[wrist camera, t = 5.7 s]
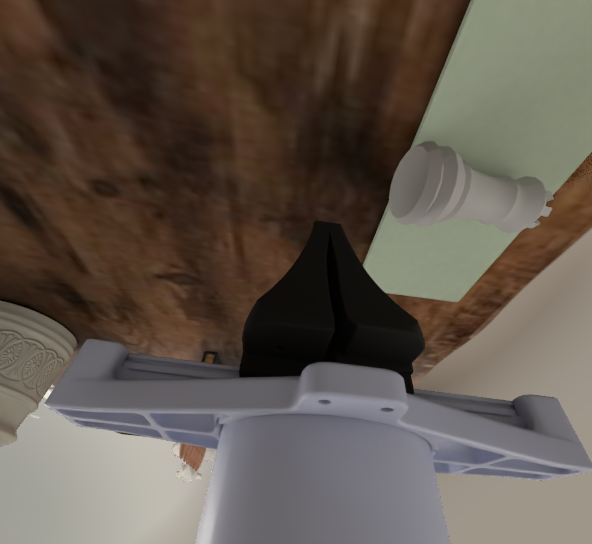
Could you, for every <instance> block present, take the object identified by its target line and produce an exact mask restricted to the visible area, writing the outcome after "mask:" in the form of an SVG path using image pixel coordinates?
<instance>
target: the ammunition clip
mask: <svg viewBox="0 0 592 544" xmlns="http://www.w3.org/2000/svg"><path fill="white" fill-rule="evenodd" d="M201 362H205V363H213V364H221V362H220V358H219V354H218V353H210V352H204V355H203V358H202V361H201ZM205 452H206V448H205V447H199V446H194V445H189V444H183V443H180V451H179V455H180V459H181V458H182V457H183V461H184V462H185V461H186V464H189V466H190V467H191V466H192V469H194V468H195V472H196V471H197V470H198V469H199V467H200V465H201V463H202V460H203V458H204V455H205Z"/></svg>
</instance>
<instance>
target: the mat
mask: <svg viewBox="0 0 592 544" xmlns="http://www.w3.org/2000/svg"><path fill="white" fill-rule="evenodd" d="M425 141H434V142H435V143H436V144H437V145H438V146H449V147H451V148H452V149H454V150H455V151H456V152H457V153H458V154H459V155H460V156H461V158H462V159H464V160H465V161H466V162H467V163H468V164H469V166H470V167H471V168H472V169H474V170H477V171H479V172H482V173H484V174H487V175H489V176H492V177H499V176H501V175H504V176H510V177H511V178H512V179H514V180H516V179H519V178H522V177H525V176H529V177H536V178H537V179H539V180H540V181H541V182H542V183H543V185H544V187H545V190H546V191H551V192H552V195H554V193H555V192H556V191H557V190H558V189H559V188H560V187H561V186H562V184H563V183H564V182H565V181H566V180H567V179H568V178H569V177H570V175H571V174H572V173H573V172H574V171H575V170H576V169H577V168H578V166H579V165H580V164H581V163H582V162H583V161H584V160H585V159H586V157H587V156H588V155H589V154H590V153H591V152H592V0H471V1H470V3H469V6H468V8H467V11H466V13H465V16H464V18H463V21H462V23H461V25H460V28H459V30H458V33H457V35H456V38H455V40H454V43H453V45H452V48H451V50H450V52H449V55H448V57H447V60H446V62H445V65H444V67H443V70H442V72H441V75H440V77H439V79H438V82H437V84H436V87H435V89H434V92H433V94H432V97H431V99H430V102H429V104H428V106H427V109H426V111H425V114H424V116H423V119H422V121H421V124H420V126H419V129H418V131H417V133H416V136H415V138H414V141H413V143H412V146H411V148H410V150H411V149H412V148H413V147H415V146H417V145H419V144H421V143H423V142H425ZM546 202H547V201H546ZM521 231H522V230H521ZM521 231H519V232H514V233H506V232H503V231H500V230H499V229H498V227H497V226H496V225H495V224H493V225H485V224H482V223H480V222H479V220H476V219H457V218H452V219H449V220H447V221H443V222H437V223H436V224H433V225H429V226H423V227H419V226H417V225H415V224H409V225H406V226H405V225H403V224H401V223H399V222H398V221H397V220H396V218H395V217H394V216H393V214H392V212H391V210H390V205H389V202H388V205H387V207H386V209H385V212H384V214H383V217H382V219H381V222H380V224H379V227H378V229H377V232H376V234H375V236H374V239H373V241H372V244H371V246H370V249H369V251H368V254H367V256H366V259H365V261H364V263H363V267H364V268H365V270H366V271H367V273H368V274H369V275H370V277H371V278H372V279H373V280H374V282H375V283H376V284H377V285H378V286H379V287H380V288H381V289H382V290H383V291H384V292H385V293H392V294H399V295H407V296H414V297H422V298H430V299H437V300H445V301H452V302H459V300H460V299H461V298H462V297H463V296H464V295H465V294H466V293H467V291H468V290H469V289H470V288H471V287H472V286H473V285H474V284H475V282H476V281H477V280H478V279H479V278H480V277H481V276H482V275H483V273H484V272H485V271H486V270H487V269H488V268H489V267H490V266H491V264H492V263H493V262H494V261H495V260H496V259H497V258H498V257H499V255H500V254H501V253H502V252H503V251H504V250H505V249H506V248H507V246H508V245H509V244H510V243H511V242H512V241H513V240H514V239H515V237H516V236H517V235H518V234H519V233H520V232H521Z"/></svg>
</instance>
